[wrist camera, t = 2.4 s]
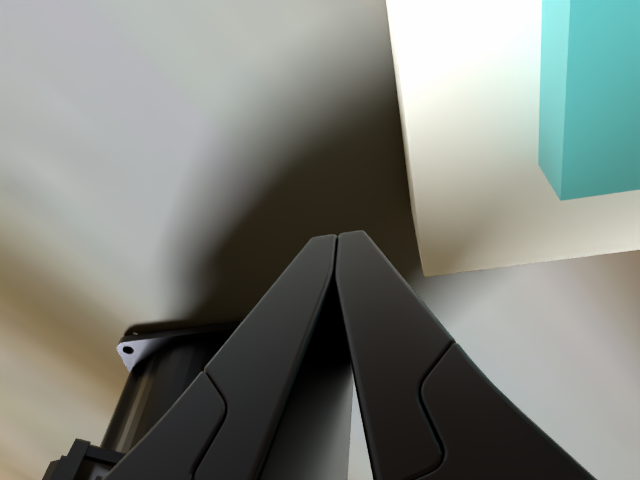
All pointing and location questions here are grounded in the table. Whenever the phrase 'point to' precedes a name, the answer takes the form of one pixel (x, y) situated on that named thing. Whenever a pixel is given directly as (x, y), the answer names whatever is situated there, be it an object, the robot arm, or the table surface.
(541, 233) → the white flat block
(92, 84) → the table surface
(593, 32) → the turquoise slab
